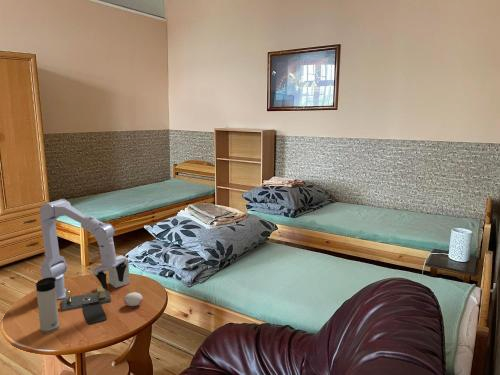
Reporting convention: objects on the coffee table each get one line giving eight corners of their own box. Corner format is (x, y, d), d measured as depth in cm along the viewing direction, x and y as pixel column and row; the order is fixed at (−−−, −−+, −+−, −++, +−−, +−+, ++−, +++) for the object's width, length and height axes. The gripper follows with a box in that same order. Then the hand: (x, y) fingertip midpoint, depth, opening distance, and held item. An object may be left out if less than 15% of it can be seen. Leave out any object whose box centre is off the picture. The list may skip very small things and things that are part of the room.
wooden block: (97, 293, 168) (96, 286, 168) (104, 292, 170) (104, 285, 169) (98, 298, 164) (97, 291, 163) (105, 297, 165) (105, 290, 165)
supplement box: (123, 278, 188) (122, 254, 185) (130, 283, 182) (128, 259, 180) (108, 283, 183) (107, 258, 180) (115, 288, 177) (113, 263, 175)
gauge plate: (62, 301, 165) (61, 287, 164) (108, 292, 173) (108, 279, 172) (62, 310, 157) (61, 296, 156) (111, 301, 165) (110, 287, 164)
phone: (100, 303, 163) (107, 319, 150) (100, 304, 163) (107, 321, 150) (81, 307, 159) (87, 324, 147) (82, 309, 159) (87, 326, 147)
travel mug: (58, 331, 142) (53, 282, 138) (38, 334, 140) (33, 284, 136) (61, 323, 148) (57, 275, 144) (42, 325, 146) (37, 277, 142)
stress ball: (142, 309, 165) (142, 293, 168) (142, 307, 158) (142, 290, 161) (124, 310, 164) (125, 294, 166) (123, 308, 156) (123, 292, 159)
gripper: (97, 261, 148) (103, 293, 150) (128, 249, 160) (133, 279, 162) (87, 258, 152) (93, 290, 155) (118, 247, 164) (123, 277, 166)
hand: (113, 284), depth 158 cm, fingers open, 7 cm apart
